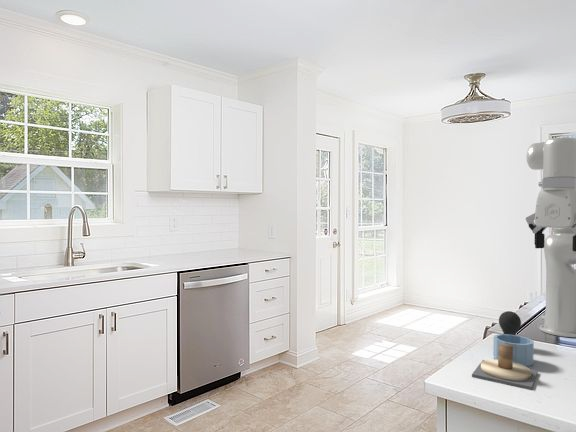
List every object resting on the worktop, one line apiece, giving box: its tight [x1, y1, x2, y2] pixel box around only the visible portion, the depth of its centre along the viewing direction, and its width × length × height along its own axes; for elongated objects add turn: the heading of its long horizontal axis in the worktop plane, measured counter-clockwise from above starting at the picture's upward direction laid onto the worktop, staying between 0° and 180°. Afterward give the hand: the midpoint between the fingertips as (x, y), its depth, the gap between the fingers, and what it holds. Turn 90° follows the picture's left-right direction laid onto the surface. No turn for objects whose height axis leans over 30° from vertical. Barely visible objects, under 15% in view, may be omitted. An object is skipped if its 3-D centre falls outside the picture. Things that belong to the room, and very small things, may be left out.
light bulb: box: [498, 310, 522, 335], centre depth 122 cm, size 6×6×10 cm
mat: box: [471, 359, 538, 391], centre depth 100 cm, size 12×12×1 cm
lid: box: [480, 344, 531, 381], centre depth 100 cm, size 10×10×6 cm
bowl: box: [492, 333, 535, 368], centre depth 110 cm, size 9×9×6 cm
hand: (557, 249), depth 114 cm, fingers open, 9 cm apart
